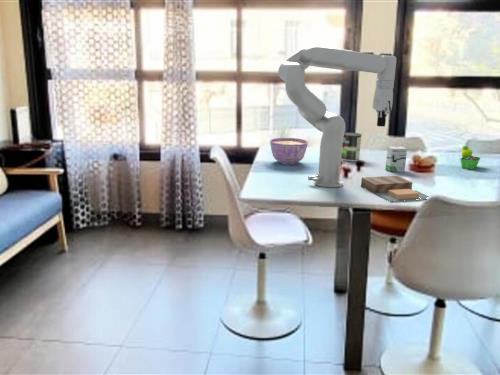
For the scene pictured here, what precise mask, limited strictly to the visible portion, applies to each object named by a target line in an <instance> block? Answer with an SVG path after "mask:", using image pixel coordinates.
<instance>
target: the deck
mask: <svg viewBox="0 0 500 375" xmlns="http://www.w3.org/2000/svg"><path fill="white" fill-rule="evenodd" d="M360 183H361V184H360V187H362V188H363V189H365V190H367V191H368V192H371V193H372V194H373V195H374V194H375V193H385V192H388V190H396V189H411V190H412V188H413V181H410V180H408V179H406V178H404V177H401V176H400V175H387V176H386V175H385V176H381V175H380V176H366V177H364V176H363V177H361V181H360ZM375 195H376V194H375Z"/></svg>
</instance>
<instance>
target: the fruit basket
mask: <svg viewBox="0 0 500 375" xmlns="http://www.w3.org/2000/svg"><path fill="white" fill-rule="evenodd" d="M473 153H474V152H473V150H472V149H471V148H470V147H469V146H468V145H462V148H461V158H460V163H461V164H460V165H461V169H465V170H474V169H475V168H476V167H478V164H479V162H480V160H481V157H479V156H474V155H473Z"/></svg>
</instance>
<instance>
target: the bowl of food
mask: <svg viewBox="0 0 500 375" xmlns="http://www.w3.org/2000/svg"><path fill="white" fill-rule="evenodd" d="M269 144H270V149H271V154H272V157H273V159H274V160H276V161H277V162H279V163H280V164H282V165H296V163H299V162H301V161H302V160H303V159H304V158H305V154H306V152H307V148H308V146H309V145H308V144H309V141H308V140H306V139H303V138H295V137H276V138H275V137H274V138H272V139H269Z"/></svg>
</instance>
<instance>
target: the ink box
mask: <svg viewBox="0 0 500 375" xmlns="http://www.w3.org/2000/svg"><path fill="white" fill-rule="evenodd" d="M386 153H387V154H386V160H385V162H386V163H385V169H384V170H385V171H387V170H388V171H387V172H390V171H394V172H405V170H406V164H407V163H406V162H407V154H408V148H406V147H404V146H388V147H387V152H386Z"/></svg>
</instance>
